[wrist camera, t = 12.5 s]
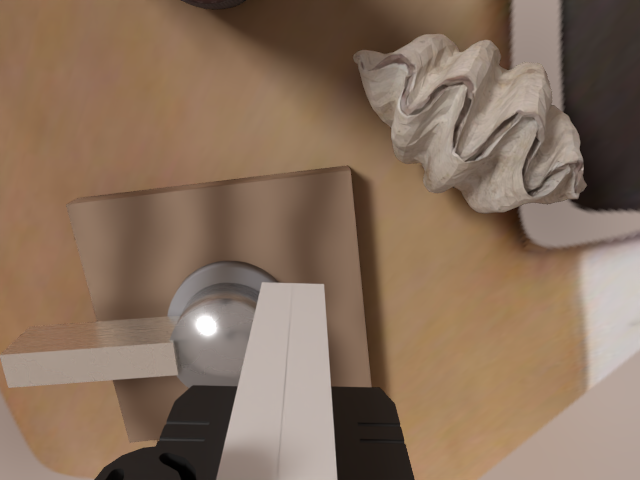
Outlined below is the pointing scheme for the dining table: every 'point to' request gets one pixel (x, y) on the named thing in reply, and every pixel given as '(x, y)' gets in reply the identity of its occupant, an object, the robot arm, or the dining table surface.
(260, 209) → the mount
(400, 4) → the dining table surface
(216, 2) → the camera lens
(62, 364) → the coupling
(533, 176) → the seashell
